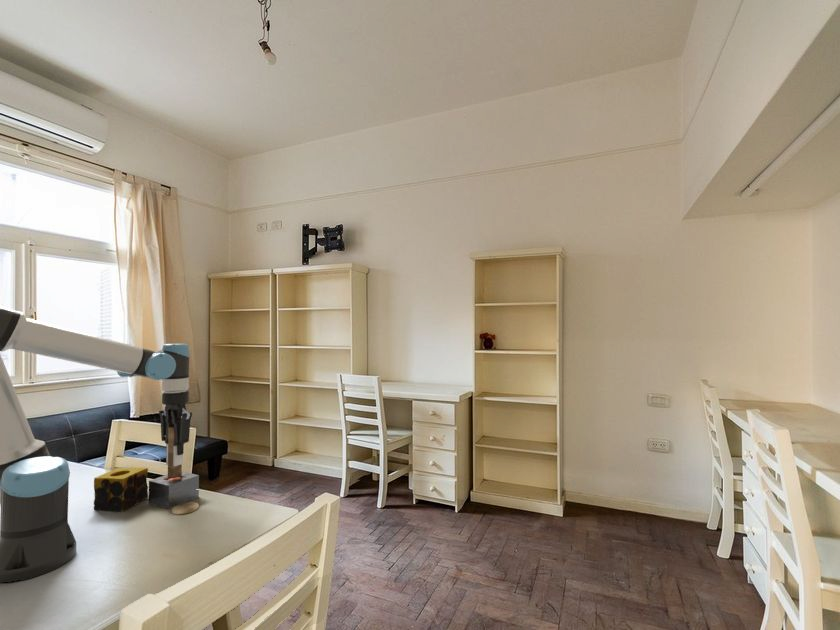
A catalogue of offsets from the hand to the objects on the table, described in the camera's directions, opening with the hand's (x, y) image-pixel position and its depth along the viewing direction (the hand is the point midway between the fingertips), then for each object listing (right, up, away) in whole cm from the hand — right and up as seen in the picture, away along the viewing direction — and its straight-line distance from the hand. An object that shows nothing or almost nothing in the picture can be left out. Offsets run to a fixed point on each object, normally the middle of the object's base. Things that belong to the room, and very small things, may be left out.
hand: (174, 463), depth 132 cm
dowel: (0, -4, 0) cm, 4 cm away
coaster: (+8, -11, -7) cm, 16 cm away
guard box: (0, -11, 0) cm, 11 cm away
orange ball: (0, -9, 0) cm, 9 cm away
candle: (-15, -12, -3) cm, 19 cm away
